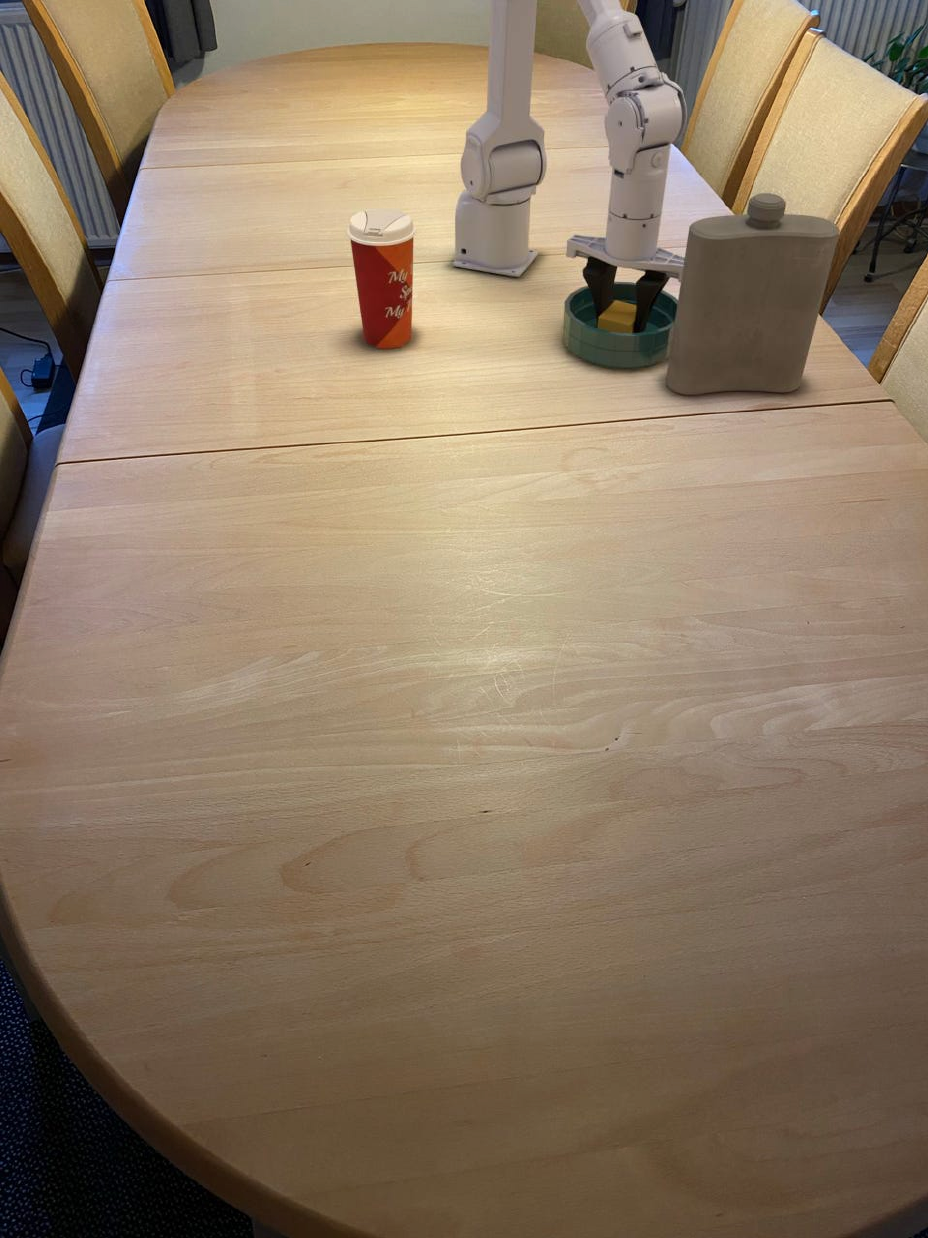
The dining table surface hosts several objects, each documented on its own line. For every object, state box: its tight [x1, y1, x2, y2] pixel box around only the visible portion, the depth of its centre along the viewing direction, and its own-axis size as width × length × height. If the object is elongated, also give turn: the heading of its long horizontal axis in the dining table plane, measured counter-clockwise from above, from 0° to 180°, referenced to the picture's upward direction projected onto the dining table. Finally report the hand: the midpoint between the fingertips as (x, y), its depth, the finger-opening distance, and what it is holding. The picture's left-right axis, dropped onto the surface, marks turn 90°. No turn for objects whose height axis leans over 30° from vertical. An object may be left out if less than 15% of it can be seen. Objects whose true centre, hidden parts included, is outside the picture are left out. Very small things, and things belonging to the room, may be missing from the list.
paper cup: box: [346, 207, 417, 349], centre depth 114 cm, size 8×8×14 cm
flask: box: [665, 192, 841, 396], centre depth 104 cm, size 15×6×20 cm, turn 93°
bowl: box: [561, 281, 678, 371], centre depth 116 cm, size 14×14×4 cm
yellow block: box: [598, 300, 644, 333], centre depth 116 cm, size 4×5×3 cm
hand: (621, 327), depth 116 cm, fingers closed on yellow block, 4 cm apart
